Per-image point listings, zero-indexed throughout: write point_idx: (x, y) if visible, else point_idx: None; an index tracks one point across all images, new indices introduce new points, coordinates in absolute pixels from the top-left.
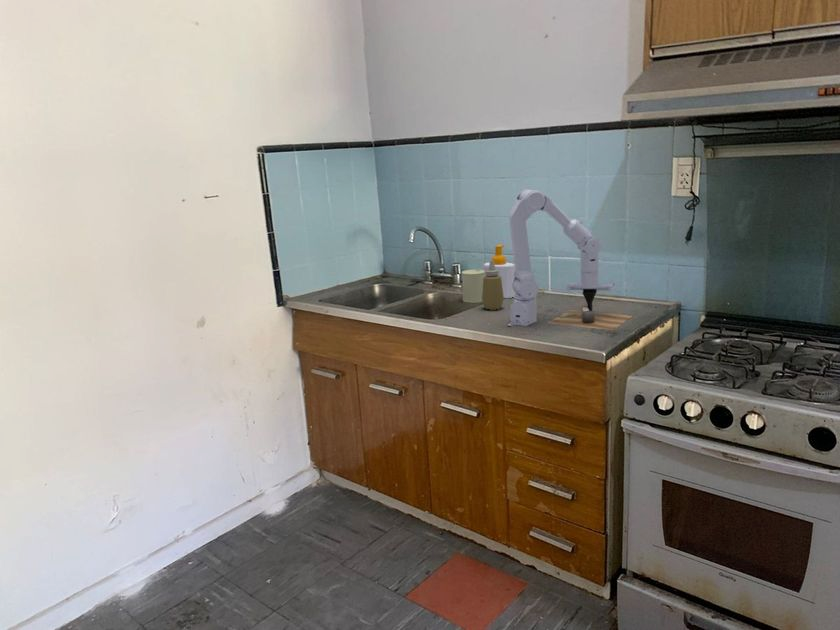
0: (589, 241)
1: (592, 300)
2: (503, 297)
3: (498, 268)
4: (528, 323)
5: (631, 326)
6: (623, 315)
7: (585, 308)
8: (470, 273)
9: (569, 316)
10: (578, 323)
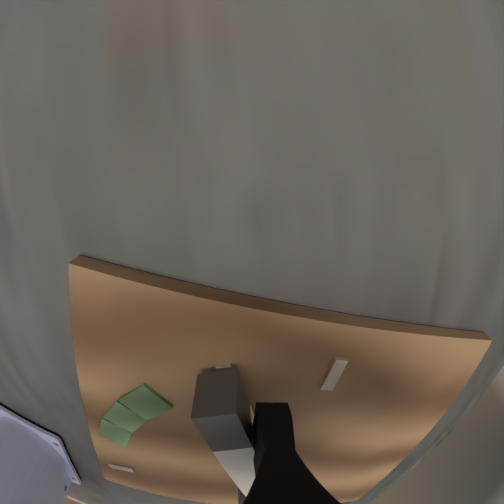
0: None
1: (301, 471)
2: None
3: None
4: (66, 482)
5: (435, 428)
6: (463, 346)
7: (241, 469)
8: None
9: (141, 424)
10: (228, 491)
